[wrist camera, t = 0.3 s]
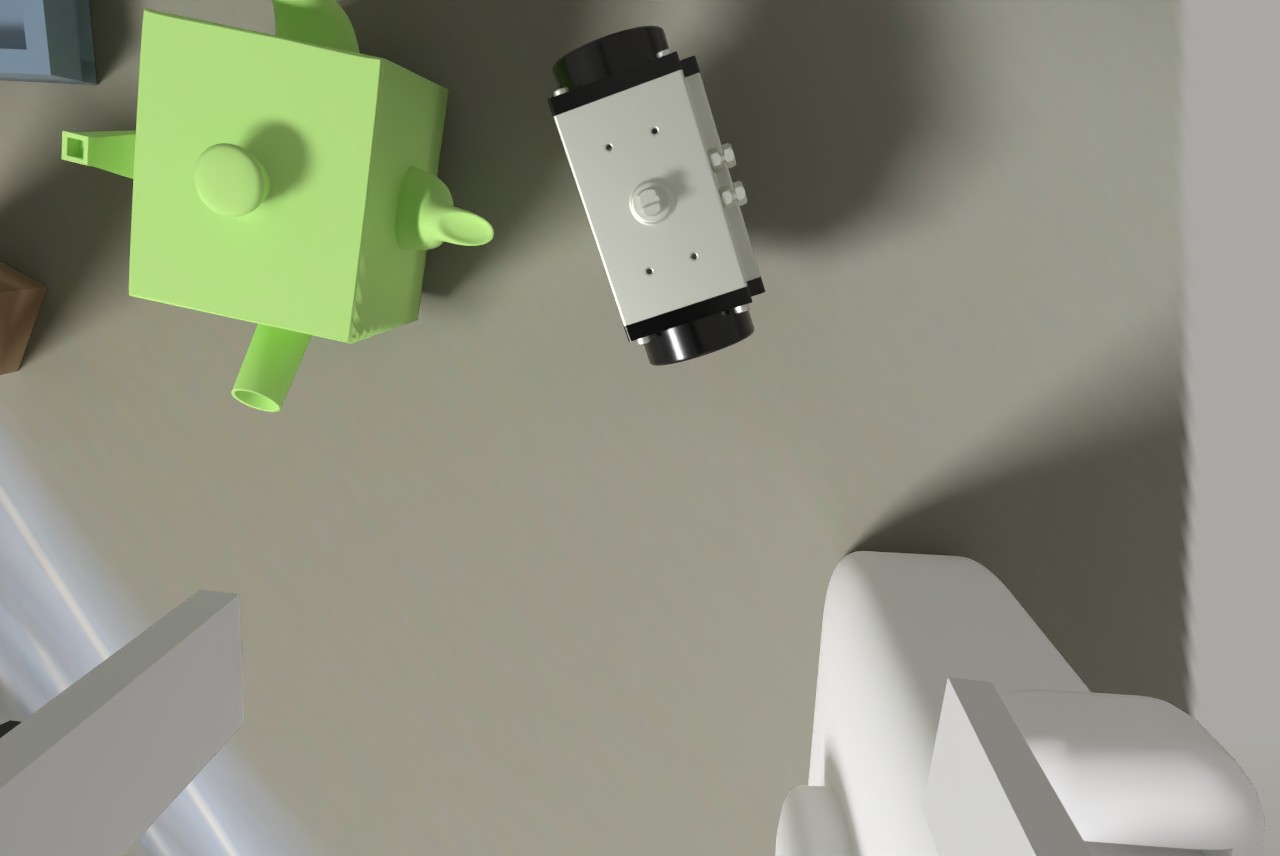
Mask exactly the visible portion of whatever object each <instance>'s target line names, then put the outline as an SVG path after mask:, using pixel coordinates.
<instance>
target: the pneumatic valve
mask: <svg viewBox="0 0 1280 856" xmlns="http://www.w3.org/2000/svg"><path fill="white" fill-rule="evenodd" d="M553 73H554V76H555V79H556V82H557V85H558V88H559V89H558V90H556V91H554V96H555V97H552V98H549V99H548V103H549V106H550V109H551V112H552V115H553V118H554V121H555V123H556V126H557V129H558V132H559V135H560V138H561V141H562V144H563V147H564V150H565V153H566V156H567V159H568V162H569V165H570V168H571V171H572V174H573V177H574V180H575V183H576V186H577V189H578V192H579V195H580V198H581V201H582V204H583V207H584V210H585V213H586V216H587V219H588V222H589V225H590V228H591V230H592V233H593V236H594V239H595V242H596V245H597V248H598V251H599V254H600V257H601V260H602V263H603V266H604V269H605V272H606V275H607V278H608V281H609V284H610V287H611V290H612V293H613V296H614V299H615V302H616V305H617V308H618V311H619V314H620V317H621V320H622V323H623V326H624V329H625V332H626V335H627V337H628V340H629V342H631V341H634V340H636V342H637V344H638V345H642V344H644V346H645V349H646V352H647V355H648V358H649V361H650V364H652V365H656V366H659V365H668V364H673V363H678V362H682V361H686V360H689V359H693V358H696V357H700V356H703V355H706V354H709V353H712V352H715V351H718V350H720V349H723V348H725V347H728V346H730V345H733V344H735V343H737V342H739V341H741V340H743V339H745V338H747V337H748V336H750V335H751V334H752V333H753V332H754V326H753V323H752V319H751V316H750V313H749V309H750V308H749V304H748V303H751V302H752V299H751V296H754V295H757V294H761V293H764V292H765V289H764V286H763V282H762V279H761V276H760V272H759V269H758V266H757V262H756V259H755V256H754V252H753V249H752V245H751V242H750V239H749V235H748V232H747V229H746V225H745V222H744V219H743V215H742V212H741V209H740V206H741V205H744V204H746V203H747V197H746V193H745V190H744V187H743V184H742V182H741V181H737V182H734V183H733V182H732V178H731V175H730V172H729V168H732V167H734V166H735V165H736V160H735V156H734V153H733V150H732V147H731V144H729V143H726V144H723V145H721V142H720V138H719V135H718V132H717V128H716V125H715V121H714V118H713V115H712V111H711V108H710V105H709V101H708V98H707V95H706V91H705V88H704V85H703V81H702V78H701V75H700V71H699V68H698V64H697V61H696V58H695V56H692V57H689V58H686V59H684V60H681V61H680V60H679V57H678V54H677V52H673V53H672V51H671V49H669V46H668V43H667V40H666V36H665V33H664V30H663V29H662V28H661V27H658V26H643V27H637V28H632V29H628V30H624V31H620V32H617V33H614V34H611V35H608V36H605V37H602V38H600V39H597V40H594V41H592V42H590V43H587V44H585V45H583V46H581V47H579V48H577V49H575V50H573V51H571V52H570V53H568V54H566V55H565V56H563V57H562V58H561V59H559V60H558V61H557V62H556V63H555V65H554V66H553Z"/></svg>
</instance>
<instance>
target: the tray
mask: <svg viewBox="0 0 1280 856" xmlns="http://www.w3.org/2000/svg"><path fill="white" fill-rule="evenodd" d="M0 80H9V81H29V82H50V83H70V84H91V85H97V80H96V69H95V58H94V48H93V37H92V26H91V16H90V5H89V0H0Z"/></svg>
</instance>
